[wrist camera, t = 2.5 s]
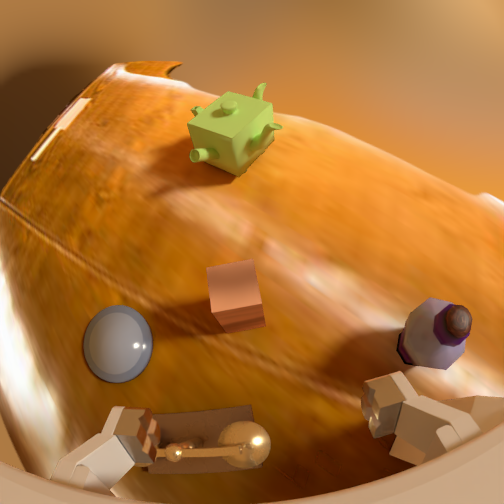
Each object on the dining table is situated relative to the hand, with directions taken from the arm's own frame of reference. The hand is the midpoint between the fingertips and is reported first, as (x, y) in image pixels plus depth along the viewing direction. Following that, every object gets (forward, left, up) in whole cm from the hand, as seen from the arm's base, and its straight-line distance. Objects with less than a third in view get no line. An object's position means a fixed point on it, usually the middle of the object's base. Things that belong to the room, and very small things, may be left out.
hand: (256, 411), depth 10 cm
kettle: (+40, -3, -26) cm, 48 cm away
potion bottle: (+2, -20, -26) cm, 32 cm away
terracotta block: (+12, +1, -26) cm, 28 cm away
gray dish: (+10, +19, -25) cm, 34 cm away
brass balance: (-4, +9, -25) cm, 27 cm away
